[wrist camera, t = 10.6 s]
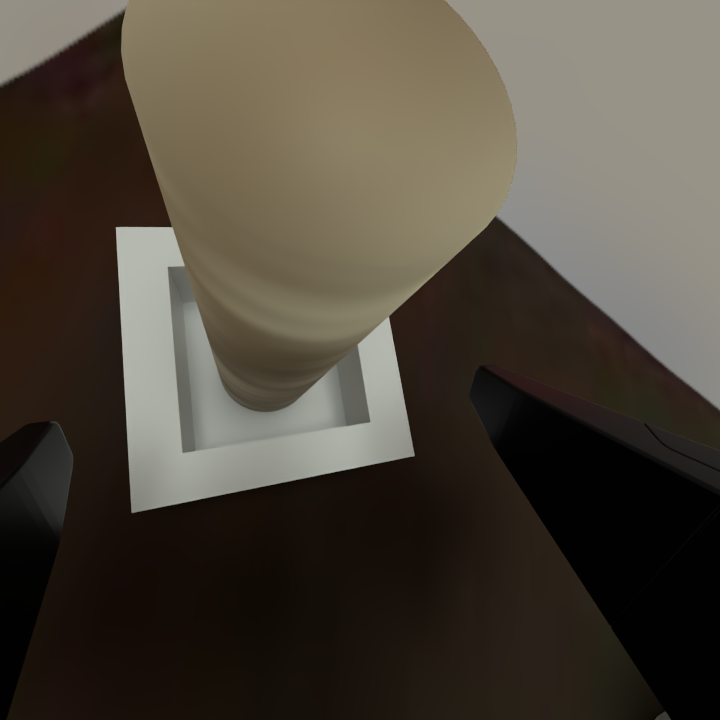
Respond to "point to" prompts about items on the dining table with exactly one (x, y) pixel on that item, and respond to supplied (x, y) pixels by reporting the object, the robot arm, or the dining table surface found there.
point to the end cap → (219, 411)
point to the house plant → (663, 716)
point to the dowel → (314, 166)
